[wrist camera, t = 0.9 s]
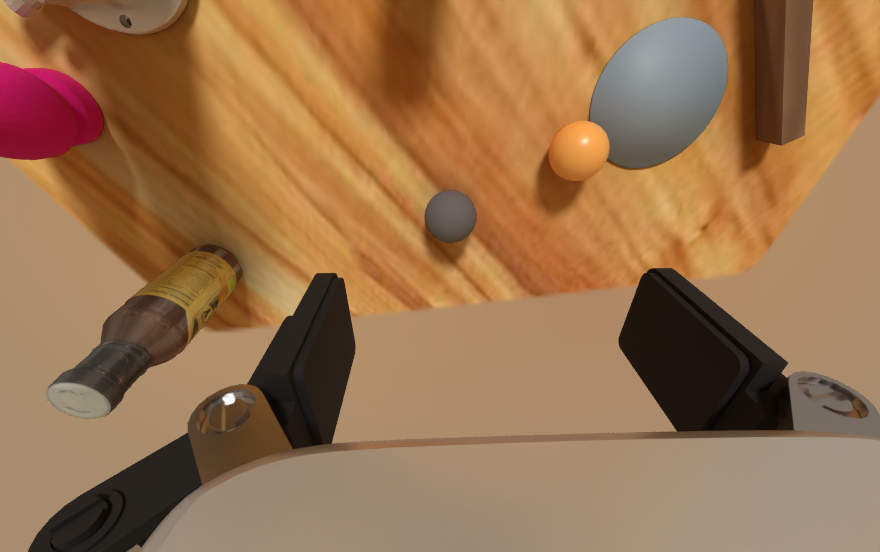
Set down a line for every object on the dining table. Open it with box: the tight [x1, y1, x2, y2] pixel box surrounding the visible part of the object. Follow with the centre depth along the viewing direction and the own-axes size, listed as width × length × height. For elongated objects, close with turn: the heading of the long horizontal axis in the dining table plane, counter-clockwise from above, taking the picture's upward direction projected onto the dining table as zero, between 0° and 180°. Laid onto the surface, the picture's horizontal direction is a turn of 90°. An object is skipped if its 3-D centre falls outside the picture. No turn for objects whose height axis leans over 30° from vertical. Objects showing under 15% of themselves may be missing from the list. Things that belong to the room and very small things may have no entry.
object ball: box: [549, 121, 610, 181], centre depth 33 cm, size 6×6×6 cm
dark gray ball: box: [425, 190, 476, 243], centre depth 36 cm, size 6×6×6 cm
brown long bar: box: [755, 0, 813, 146], centre depth 30 cm, size 2×18×3 cm, turn 28°
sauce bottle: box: [46, 245, 241, 419], centre depth 32 cm, size 6×6×20 cm
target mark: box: [589, 18, 728, 168], centre depth 33 cm, size 13×13×1 cm
